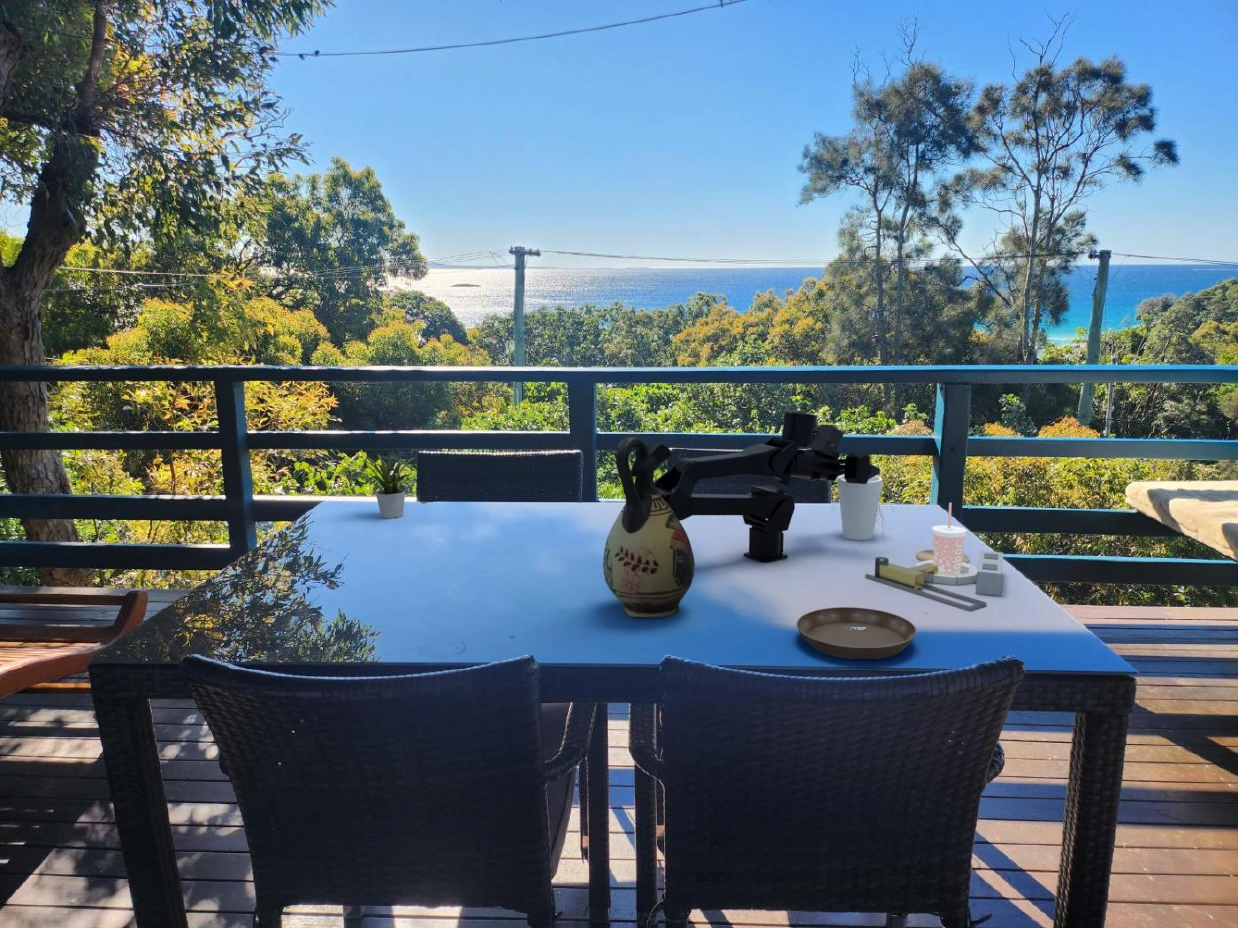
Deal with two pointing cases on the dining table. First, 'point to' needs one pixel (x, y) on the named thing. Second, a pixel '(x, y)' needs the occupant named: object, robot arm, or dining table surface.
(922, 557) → the coaster
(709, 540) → the dining table surface
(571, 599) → the dining table surface
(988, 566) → the socket
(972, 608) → the rail
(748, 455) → the robot arm
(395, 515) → the house plant
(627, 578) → the ceramic jug
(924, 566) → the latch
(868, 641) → the plant saucer
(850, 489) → the foam cup
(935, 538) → the beverage cup
